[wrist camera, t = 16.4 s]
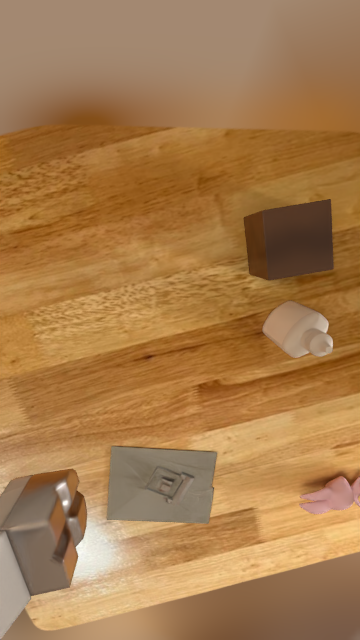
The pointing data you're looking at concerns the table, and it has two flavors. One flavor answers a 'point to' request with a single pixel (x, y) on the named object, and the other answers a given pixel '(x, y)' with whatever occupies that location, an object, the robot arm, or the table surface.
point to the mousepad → (160, 485)
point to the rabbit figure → (333, 496)
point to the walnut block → (290, 240)
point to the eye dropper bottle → (298, 330)
